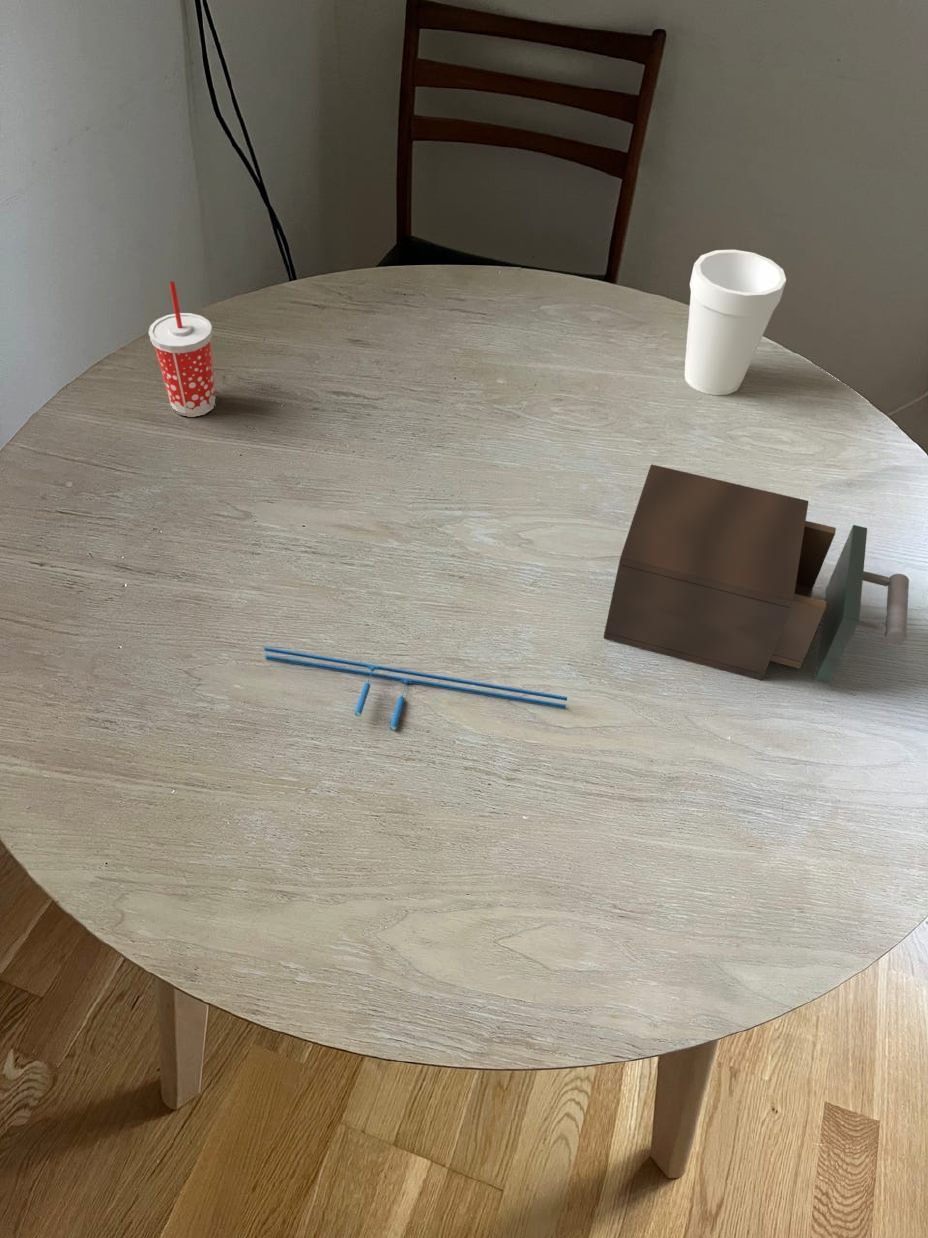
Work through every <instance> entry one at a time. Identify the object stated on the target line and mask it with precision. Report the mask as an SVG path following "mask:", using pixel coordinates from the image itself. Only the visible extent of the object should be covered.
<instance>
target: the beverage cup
mask: <svg viewBox="0 0 928 1238" xmlns="http://www.w3.org/2000/svg"><path fill="white" fill-rule="evenodd" d="M169 288H170V295H171V298H172V304H173V310H174V313H170V314H167V315H164V316H161V317H160V318H157V319H156V320H155V321H154V322H153V323H152V324H150V326H149V329H148V337H149V340H150V342H151V344H152V346H153V347H154V349H155V353H156V357H157V360H158V364H159V367H160V371H161V375H162V378H163V383H164V387H165V389H166V393H167V397H168V401H169V404H170V407H171V406H172V408H173V409H175V410H176V411H178V412H181V413H201V412H203V411H204V412H205V411H206V410H208V409H210V408H211V407H212V406H213V405H214V404H215V399H216V389H215V387H216V386H215V376H214V364H213V352H212V337H213V325H212V324H211V322H210V320H209V319H207V318H206V317H204V316H202V315H200V314H196V313H191V312H181V311H180V305H179V299H178V294H177V293H178V292H177V288H176V281H174V280H171V281H169ZM216 400H217V399H216ZM215 405H216V404H215ZM172 408H171V409H172Z"/></svg>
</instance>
